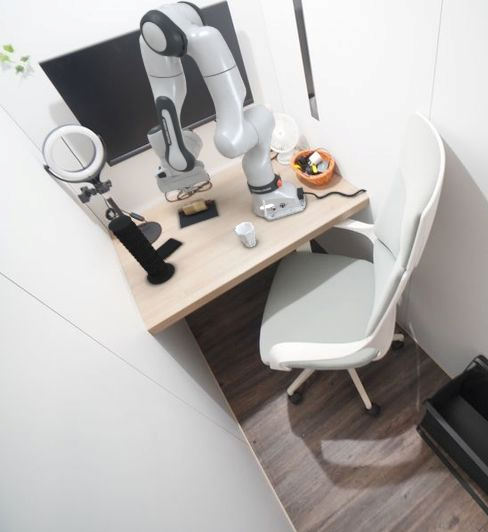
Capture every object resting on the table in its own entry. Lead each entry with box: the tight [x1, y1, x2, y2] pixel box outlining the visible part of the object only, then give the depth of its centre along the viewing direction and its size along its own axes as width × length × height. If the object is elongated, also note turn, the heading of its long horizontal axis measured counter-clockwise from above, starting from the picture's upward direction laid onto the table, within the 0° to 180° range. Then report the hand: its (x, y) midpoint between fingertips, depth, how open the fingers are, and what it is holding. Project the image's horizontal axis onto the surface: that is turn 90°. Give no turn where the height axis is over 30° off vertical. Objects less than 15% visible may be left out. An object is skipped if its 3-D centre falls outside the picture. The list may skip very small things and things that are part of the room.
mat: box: [178, 199, 219, 229], centre depth 139 cm, size 16×12×1 cm
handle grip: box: [107, 214, 176, 285], centre depth 108 cm, size 10×26×10 cm
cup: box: [232, 221, 257, 248], centre depth 121 cm, size 7×10×8 cm
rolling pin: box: [177, 197, 212, 216], centre depth 138 cm, size 5×14×5 cm, turn 113°
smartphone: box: [155, 237, 182, 260], centre depth 124 cm, size 7×1×15 cm
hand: (190, 193), depth 141 cm, fingers closed
